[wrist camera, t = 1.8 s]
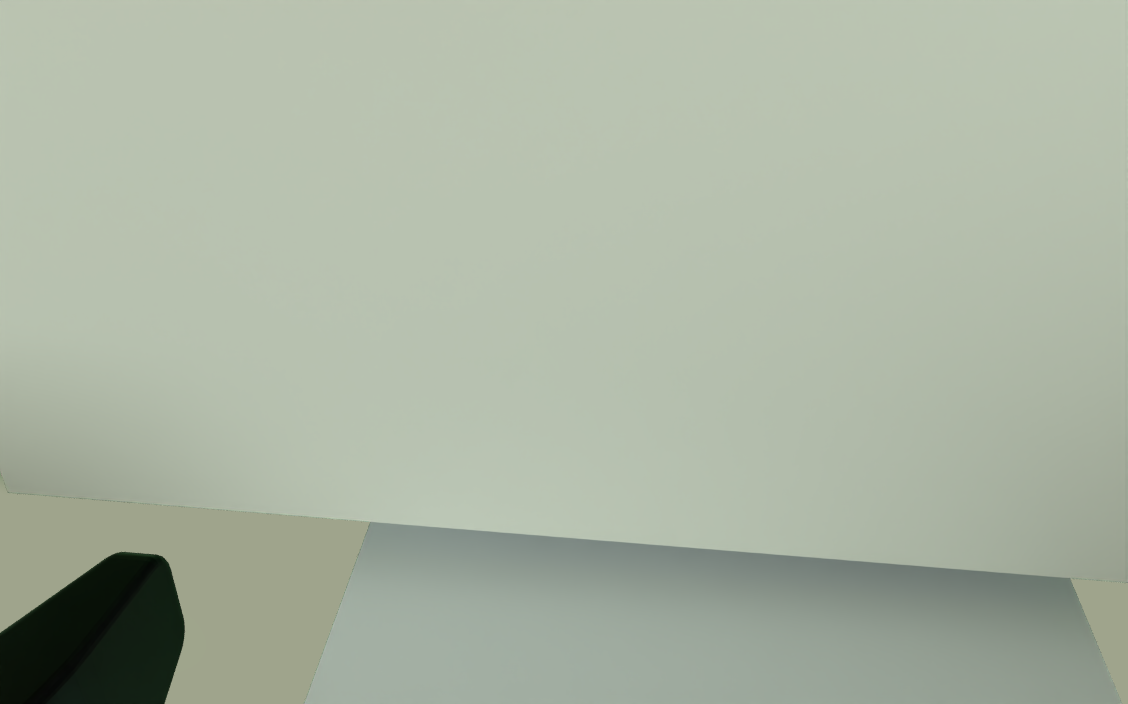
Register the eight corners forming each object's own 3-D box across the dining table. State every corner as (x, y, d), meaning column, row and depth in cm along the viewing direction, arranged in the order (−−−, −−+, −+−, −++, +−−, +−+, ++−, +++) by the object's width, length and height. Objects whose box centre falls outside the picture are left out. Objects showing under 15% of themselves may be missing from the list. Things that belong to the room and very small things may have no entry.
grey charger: (993, 95, 9) (1415, 695, 4) (870, 589, 12) (1005, 1272, 7) (462, 69, 9) (181, 586, 4) (479, 556, 12) (333, 1186, 7)
